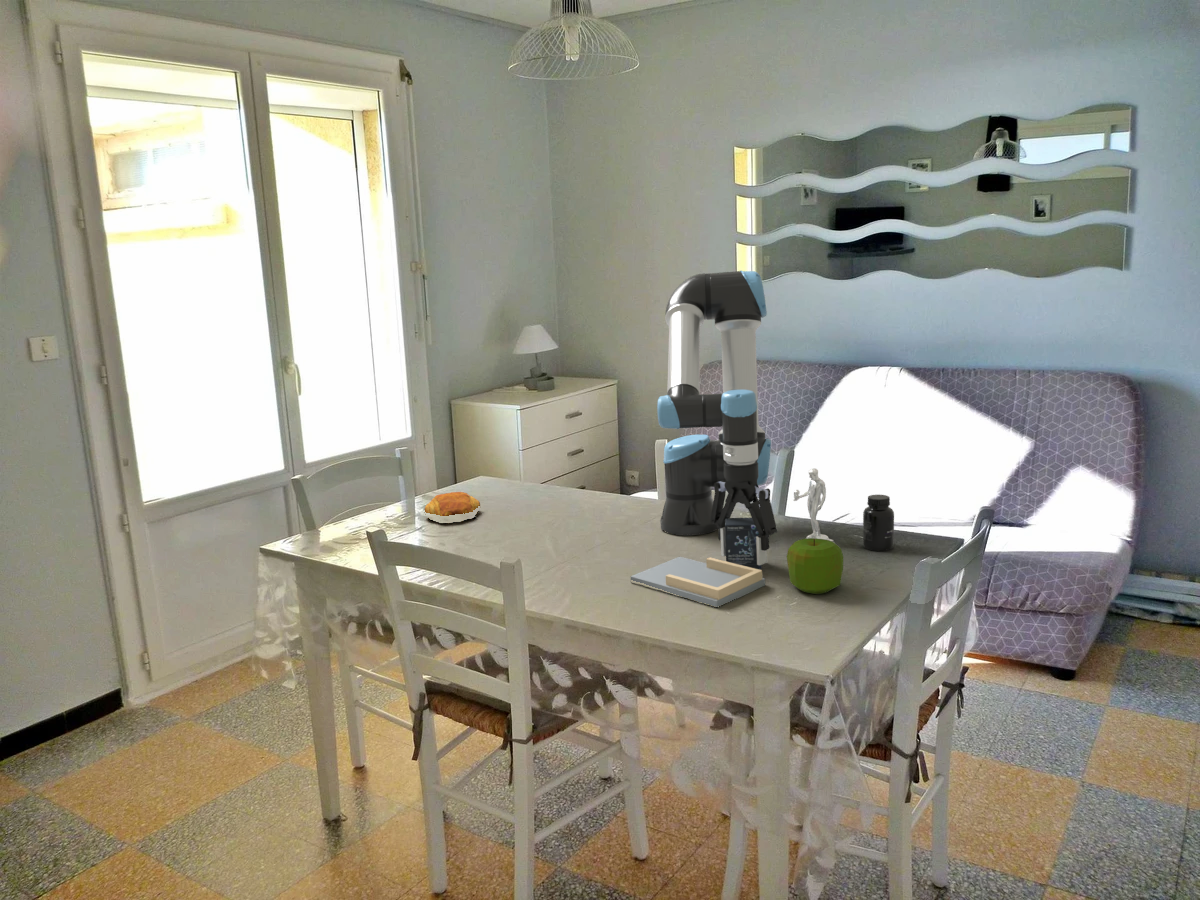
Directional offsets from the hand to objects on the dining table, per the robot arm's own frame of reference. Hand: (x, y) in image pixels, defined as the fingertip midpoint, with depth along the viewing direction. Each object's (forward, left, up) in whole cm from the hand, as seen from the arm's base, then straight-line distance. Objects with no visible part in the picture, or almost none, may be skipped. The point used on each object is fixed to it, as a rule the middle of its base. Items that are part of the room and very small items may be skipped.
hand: (743, 558), depth 213 cm
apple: (+20, -2, -2) cm, 20 cm away
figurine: (+3, +23, -2) cm, 23 cm away
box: (0, 0, -2) cm, 2 cm away
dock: (-1, -15, -2) cm, 15 cm away
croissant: (-90, -16, -2) cm, 91 cm away
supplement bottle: (+17, +28, -2) cm, 33 cm away
